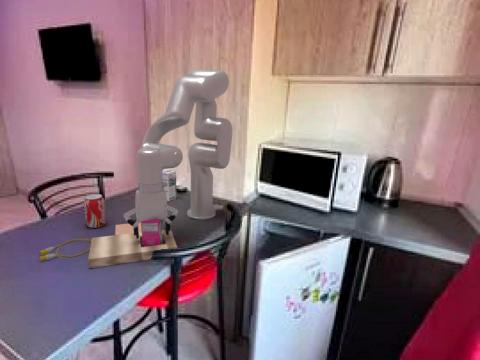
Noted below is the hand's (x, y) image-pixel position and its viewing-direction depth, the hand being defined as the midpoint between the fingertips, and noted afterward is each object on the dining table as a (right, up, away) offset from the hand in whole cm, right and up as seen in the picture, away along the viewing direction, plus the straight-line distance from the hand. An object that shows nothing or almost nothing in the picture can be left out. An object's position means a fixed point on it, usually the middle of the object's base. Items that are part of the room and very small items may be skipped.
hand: (152, 235), depth 99 cm
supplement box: (0, -5, +1) cm, 5 cm away
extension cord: (-27, -5, -2) cm, 28 cm away
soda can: (-27, +1, +16) cm, 31 cm away
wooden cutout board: (-6, -5, -1) cm, 8 cm away
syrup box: (-6, +9, +48) cm, 49 cm away
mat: (-10, -1, +13) cm, 17 cm away
